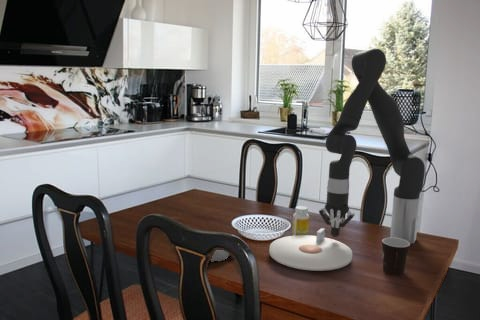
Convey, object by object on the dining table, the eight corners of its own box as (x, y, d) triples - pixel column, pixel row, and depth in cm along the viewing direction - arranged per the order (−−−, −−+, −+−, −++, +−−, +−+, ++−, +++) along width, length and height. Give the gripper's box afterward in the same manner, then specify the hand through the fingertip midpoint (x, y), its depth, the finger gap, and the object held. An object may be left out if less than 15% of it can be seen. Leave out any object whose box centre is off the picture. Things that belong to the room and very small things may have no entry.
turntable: (360, 248, 171) (361, 234, 170) (338, 277, 146) (339, 262, 146) (287, 234, 183) (288, 221, 183) (255, 259, 159) (256, 244, 158)
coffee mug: (386, 263, 162) (388, 235, 160) (411, 270, 157) (414, 241, 155) (371, 274, 153) (373, 245, 151) (397, 282, 148) (400, 252, 146)
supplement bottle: (288, 234, 188) (289, 207, 186) (299, 231, 192) (301, 204, 190) (300, 239, 183) (301, 211, 181) (311, 236, 187) (313, 208, 185)
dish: (197, 265, 158) (197, 251, 157) (189, 249, 171) (190, 236, 170) (239, 261, 162) (240, 247, 161) (229, 246, 175) (229, 233, 174)
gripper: (359, 190, 170) (355, 236, 173) (322, 185, 175) (320, 230, 179) (354, 195, 163) (351, 243, 166) (316, 189, 169) (314, 236, 172)
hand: (335, 236), depth 172 cm, fingers closed
